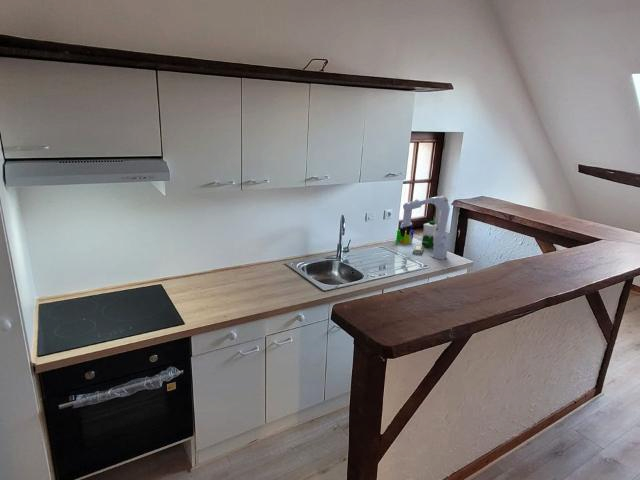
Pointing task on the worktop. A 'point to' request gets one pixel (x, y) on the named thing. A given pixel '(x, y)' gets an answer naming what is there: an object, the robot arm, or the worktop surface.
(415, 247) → the key panel
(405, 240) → the puzzle toy
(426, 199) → the robot arm
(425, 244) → the milk carton
